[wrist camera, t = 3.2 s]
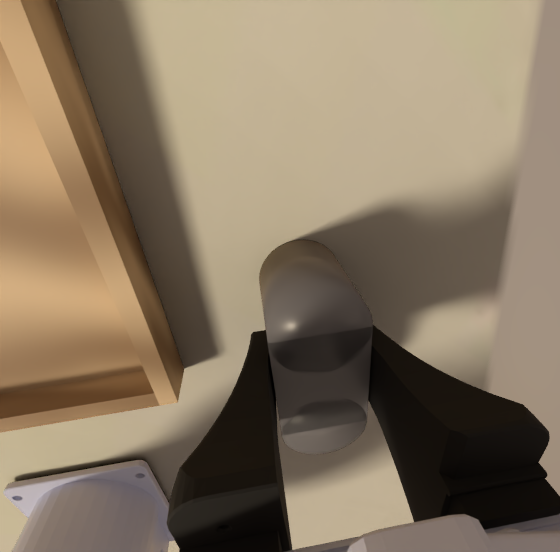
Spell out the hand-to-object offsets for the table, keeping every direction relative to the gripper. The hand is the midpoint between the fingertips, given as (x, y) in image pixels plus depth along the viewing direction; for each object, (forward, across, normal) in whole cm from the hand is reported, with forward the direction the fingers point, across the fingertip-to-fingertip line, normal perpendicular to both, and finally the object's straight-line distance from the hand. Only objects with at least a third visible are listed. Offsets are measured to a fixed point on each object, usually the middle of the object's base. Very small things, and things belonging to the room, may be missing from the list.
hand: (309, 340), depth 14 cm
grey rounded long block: (+1, 0, 0) cm, 1 cm away
